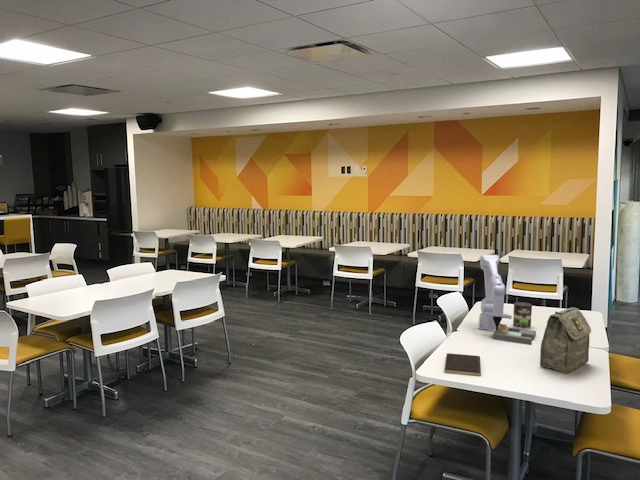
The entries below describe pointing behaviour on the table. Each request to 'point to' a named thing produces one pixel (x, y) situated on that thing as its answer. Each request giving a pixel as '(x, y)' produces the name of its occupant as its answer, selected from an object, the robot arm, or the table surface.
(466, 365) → the hardcover book
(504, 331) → the maple block
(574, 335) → the bag
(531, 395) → the table surface
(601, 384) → the table surface
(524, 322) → the coffee can
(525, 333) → the trap board
